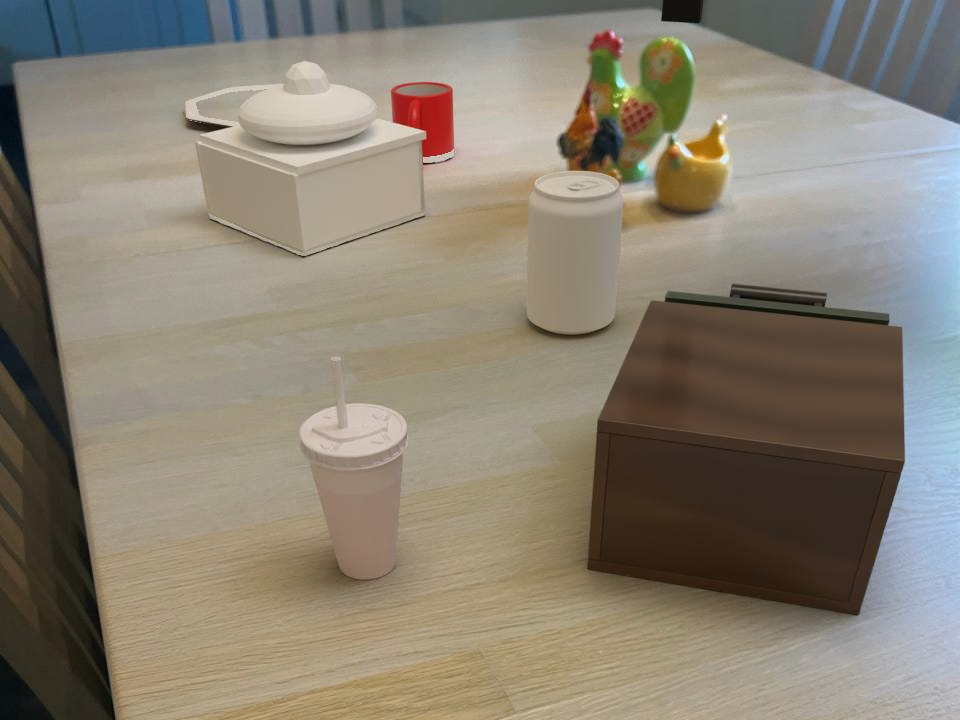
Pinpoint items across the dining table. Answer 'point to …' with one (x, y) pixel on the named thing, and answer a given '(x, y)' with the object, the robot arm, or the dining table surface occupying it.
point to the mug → (426, 113)
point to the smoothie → (358, 479)
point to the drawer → (778, 303)
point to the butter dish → (312, 164)
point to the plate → (191, 104)
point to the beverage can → (573, 251)
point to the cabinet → (750, 454)
